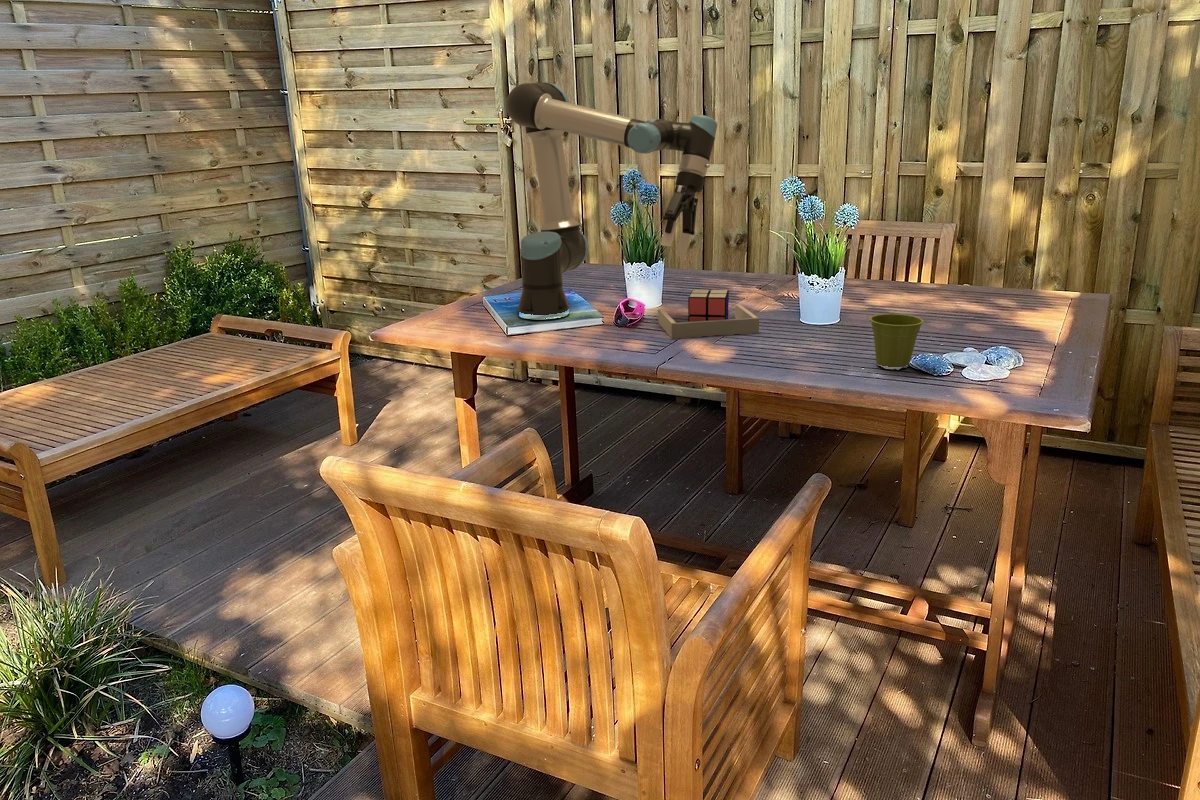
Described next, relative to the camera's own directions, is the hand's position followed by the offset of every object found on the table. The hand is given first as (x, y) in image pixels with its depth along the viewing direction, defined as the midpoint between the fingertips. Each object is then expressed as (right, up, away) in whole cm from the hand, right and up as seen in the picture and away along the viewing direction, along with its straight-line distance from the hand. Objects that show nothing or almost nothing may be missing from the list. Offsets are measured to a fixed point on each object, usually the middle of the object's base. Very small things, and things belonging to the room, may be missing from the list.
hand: (673, 251), depth 252 cm
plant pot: (+48, -33, -36) cm, 68 cm away
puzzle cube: (+10, -21, +1) cm, 23 cm away
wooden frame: (+9, -21, +2) cm, 23 cm away
